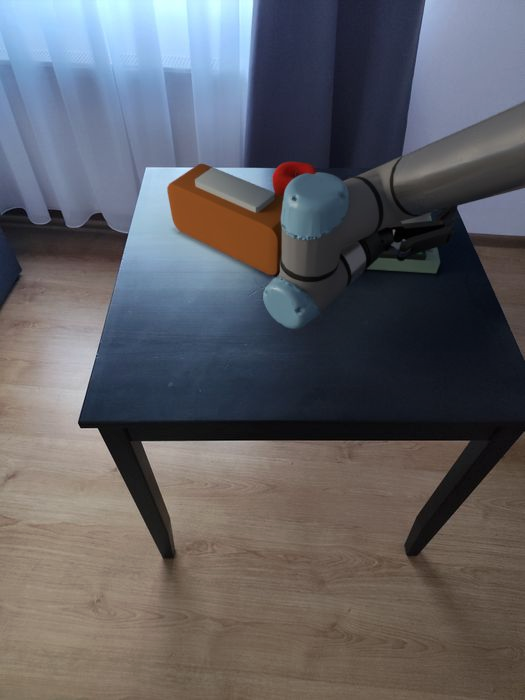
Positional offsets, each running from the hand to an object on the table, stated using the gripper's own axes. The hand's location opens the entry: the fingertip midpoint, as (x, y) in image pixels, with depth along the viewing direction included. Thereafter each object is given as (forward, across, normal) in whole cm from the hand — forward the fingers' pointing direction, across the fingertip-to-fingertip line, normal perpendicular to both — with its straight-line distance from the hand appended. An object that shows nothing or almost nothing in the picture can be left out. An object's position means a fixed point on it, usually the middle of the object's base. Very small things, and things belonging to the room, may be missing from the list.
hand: (418, 189), depth 80 cm
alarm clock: (-21, -23, -10) cm, 33 cm away
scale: (-3, 0, -10) cm, 11 cm away
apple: (-5, -22, -10) cm, 25 cm away
